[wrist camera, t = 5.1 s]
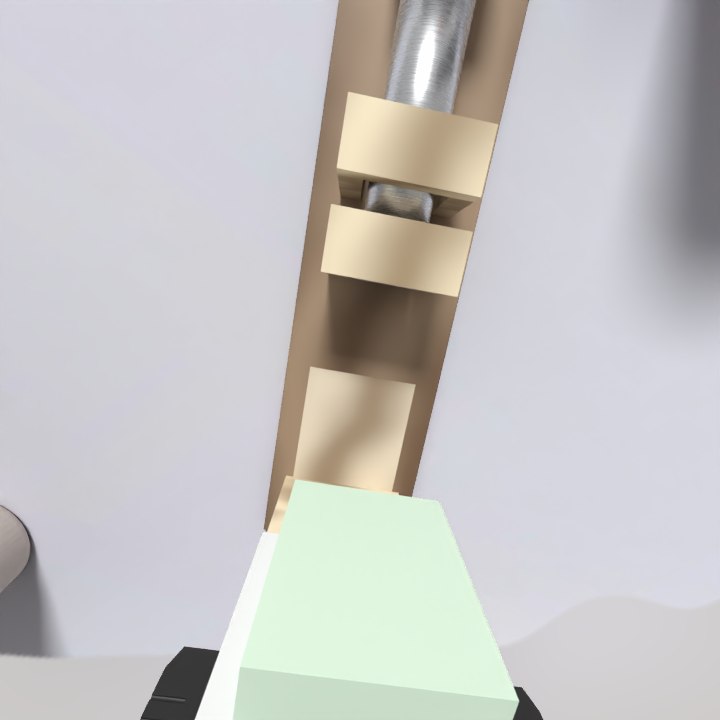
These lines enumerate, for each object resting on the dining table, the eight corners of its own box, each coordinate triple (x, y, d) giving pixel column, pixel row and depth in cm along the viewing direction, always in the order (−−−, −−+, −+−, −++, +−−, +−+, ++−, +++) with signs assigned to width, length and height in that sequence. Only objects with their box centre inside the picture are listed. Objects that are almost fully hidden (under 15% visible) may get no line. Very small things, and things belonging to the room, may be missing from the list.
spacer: (272, 624, 13) (208, 896, 7) (295, 479, 12) (239, 667, 6) (404, 641, 14) (443, 916, 8) (440, 501, 12) (519, 700, 6)
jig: (265, 524, 26) (228, 627, 18) (360, -141, 18) (366, -459, 10) (398, 543, 27) (417, 651, 19) (547, -93, 19) (687, -359, 11)
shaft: (340, 276, 22) (337, 274, 17) (406, -119, 18) (426, -270, 13) (420, 291, 22) (440, 293, 17) (503, -94, 18) (559, -234, 13)
